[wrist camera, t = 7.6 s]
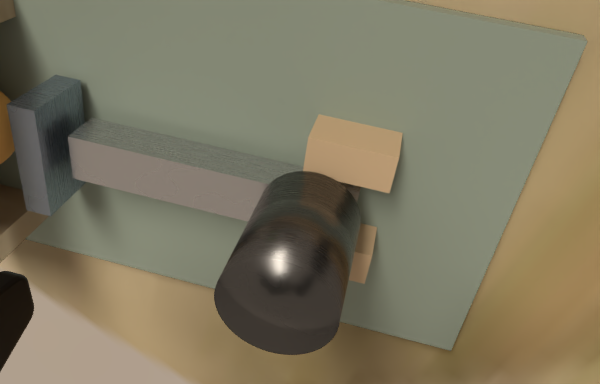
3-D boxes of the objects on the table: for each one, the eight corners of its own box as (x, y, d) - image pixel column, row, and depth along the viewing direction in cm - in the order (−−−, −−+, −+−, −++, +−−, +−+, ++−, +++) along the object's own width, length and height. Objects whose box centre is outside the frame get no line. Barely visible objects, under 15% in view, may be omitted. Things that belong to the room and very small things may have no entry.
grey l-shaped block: (379, 147, 19) (353, 267, 14) (355, 243, 22) (325, 376, 16) (55, 74, 20) (-82, 157, 15) (68, 172, 23) (-46, 274, 18)
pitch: (583, 35, 17) (602, 61, 15) (450, 340, 24) (451, 384, 23) (-92, -97, 19) (-154, -89, 17) (-15, 219, 27) (-51, 249, 25)
